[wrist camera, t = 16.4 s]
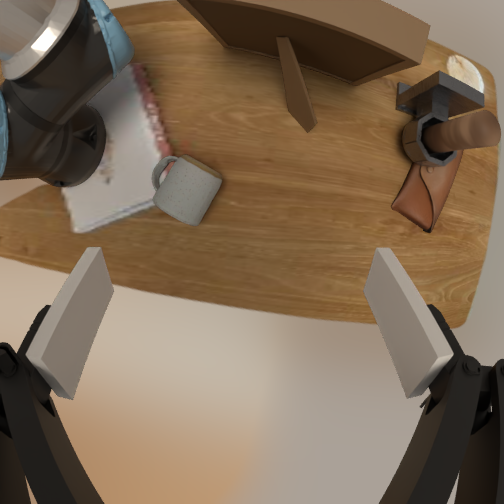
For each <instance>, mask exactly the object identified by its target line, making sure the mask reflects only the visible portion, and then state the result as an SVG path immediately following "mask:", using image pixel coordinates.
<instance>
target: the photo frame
mask: <svg viewBox="0 0 504 504" xmlns="http://www.w3.org/2000/svg"><path fill="white" fill-rule="evenodd" d="M177 1H178V2H179V3H180V4H181V5H182V6H183V7H184V8H186V9H187V10H188V11H189V12H190V13H191V14H192V15H193V16H194V17H195V18H196V19H197V20H198V21H199V22H200V23H201V24H202V25H203V26H204V27H205V28H206V29H207V30H208V31H209V32H210V33H211V34H212V35H213V36H214V37H215V38H216V39H217V40H218V41H219V42H220V43H221V44H222V45H223V46H224V47H226V48H232V49H236V50H241V51H246V52H250V53H254V54H259V55H263V56H267V57H271V58H274V59H278V60H280V61H281V67H282V73H283V79H284V85H285V91H286V98H287V104H288V111H289V112H290V114H291V115H292V116H293V117H294V118H295V119H296V120H297V121H298V123H299V124H300V125H301V126H302V127H303V128H304V129H305V130H306V132H307V133H308V132H309V131H310V130H311V129H312V128H313V127H314V126H315V125H316V124H317V120H316V117H315V113H314V110H313V107H312V104H311V100H310V97H309V94H308V91H307V88H306V85H305V82H304V79H303V76H302V73H301V70H300V67H299V66H302V67H305V68H308V69H311V70H314V71H317V72H320V73H323V74H326V75H329V76H331V77H334V78H337V79H339V80H342V81H345V82H347V83H350V84H352V85H355V86H358V85H360V84H363V83H366V82H369V81H371V80H374V79H377V78H380V77H383V76H386V75H389V74H392V73H395V72H398V71H401V70H404V69H407V68H410V67H414V66H417V65H420V64H421V62H422V58H423V54H424V50H425V46H426V42H427V38H428V34H429V30H430V25H428V24H427V23H425V22H423V21H421V20H420V19H418V18H416V17H414V16H412V15H410V14H408V13H406V12H404V11H402V10H400V9H398V8H396V7H394V6H392V5H390V4H388V3H386V2H383V1H381V0H177Z"/></svg>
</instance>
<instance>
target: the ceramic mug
mask: <svg viewBox="0 0 504 504" xmlns="http://www.w3.org/2000/svg"><path fill="white" fill-rule="evenodd" d="M171 161H176V162H175V163H174V165H173V166H172V168H171V170H170V171H169V173H168V175H167V176H166V178H165V179H164V181H163V182H162V184H161V186H159V177H160V174H161V172H162V171H163V169H164V168H165V167H166V166H167V165H168V163H169V162H171ZM152 183H153V186H154V188H155V190H156V191H157V192H156V194H155V195H154V197H153V202H154V204H155V205H156V206H158V207H159V208H160V209H161V210H162V211H164V212H166V213H167V214H169V215H170V216H172V217H174V218H176V219H177V220H179V221H181V222H183V223H186V224H189V225H192V226H198V225H199V223H200V222H201V220H202V218H203V216H204V214H205V212H206V211H207V209H208V207H209V205H210V203H211V201H212V200H213V198H214V196H215V195H216V193H217V191H218V190H219V188H220V185H221V183H222V175H221V174H220V173H218V172H216V171H215V170H213V169H211V168H209V167H208V166H206V165H204V164H203V163H201V162H199V161H197V160H195V159H194V158H192V157H190V156H188V155H186V154H185V155H182V156H180V157H179V158H178V157H175V156H167V157H165V158H163V159H162V160H161V161H160V162H159V163H158V164H157V165H156V167H155V168H154V171H153V174H152Z"/></svg>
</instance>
